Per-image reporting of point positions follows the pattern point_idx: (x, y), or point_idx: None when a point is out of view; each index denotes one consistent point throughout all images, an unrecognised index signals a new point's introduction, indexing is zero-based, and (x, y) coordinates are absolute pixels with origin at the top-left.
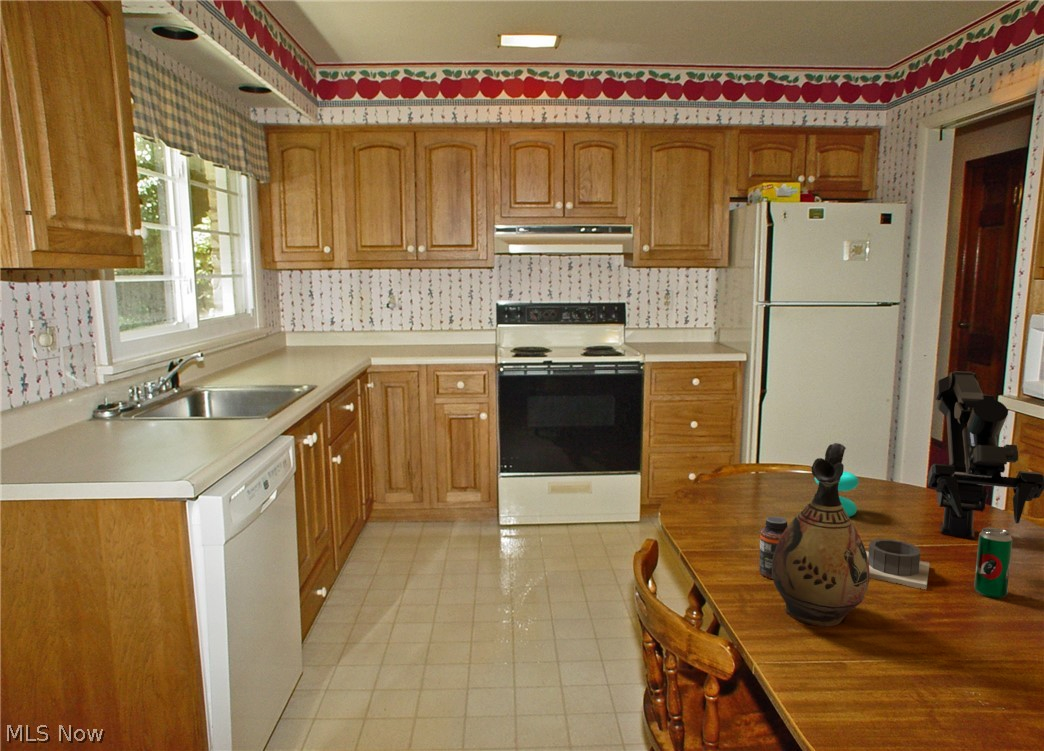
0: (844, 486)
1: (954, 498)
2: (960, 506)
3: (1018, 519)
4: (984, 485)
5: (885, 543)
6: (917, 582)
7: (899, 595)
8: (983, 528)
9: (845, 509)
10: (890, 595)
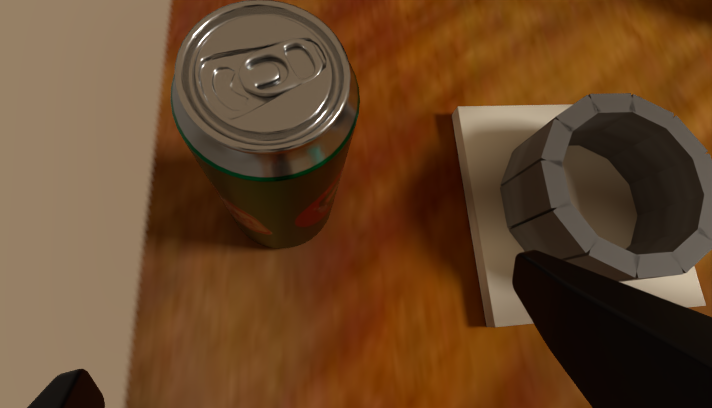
0: None
1: (700, 314)
2: (577, 282)
3: (61, 379)
4: None
5: (676, 241)
6: (483, 109)
7: (499, 40)
8: (343, 91)
9: None
10: (517, 28)
